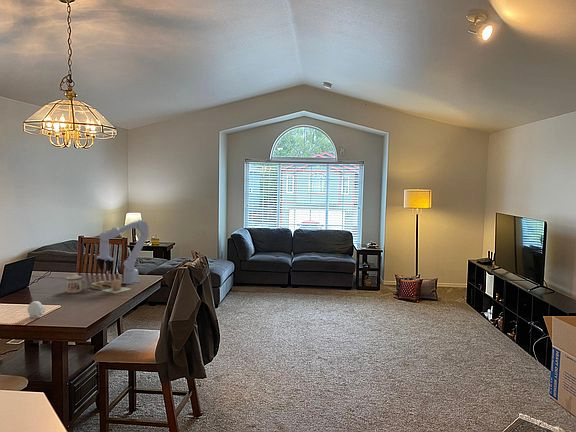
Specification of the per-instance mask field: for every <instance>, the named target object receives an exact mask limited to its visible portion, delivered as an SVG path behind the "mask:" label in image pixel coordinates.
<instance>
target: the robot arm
mask: <svg viewBox="0 0 576 432" xmlns="http://www.w3.org/2000/svg"><path fill="white" fill-rule="evenodd" d="M131 229H136V230H137V229H138V230H139V234H140V235H139V237H138V239H137V242H136V243H135V245H134V247H133V249H132V250H131V252H130V254H129V256H128V257H127V258H126V259H125V260H124V261H123V266H124V268H123V281H121V284H125V285H131V284H136V283H139V282H140V280H139V278H140V275H139V270H138V269H137V268H135V264H136V262H137V258H138V257H139V254H140V253H141V250H143V247H144V245H145V243H146V241H147V240H148V239H149V235H150V232H149V225H148V224H147V222H146V221H144V219H139V220H135V221H132V222H130V223H127V224H126V225H123V226H121V227H112V228H111V229H109V230H105V231H103V232H100V234H99V237H98V238H99V255H96V261H95V262H97V264H98V268H99V271H103V270H104V267H105V266H106V271H107V272H111V270H112V266H113V263H114V261H115V260H114V257H112V256H110V242H109V241H110V240H111V239H115V238H116V237H118V236H120V235H121V233H124V232H126V231H129V230H131ZM104 265H105V266H104Z"/></svg>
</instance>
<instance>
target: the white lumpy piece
mask: <svg viewBox="0 0 576 432" xmlns="http://www.w3.org/2000/svg"><path fill="white" fill-rule="evenodd" d="M45 312H46V307H45V306H44V305H43V304H42V303H41V302H40V301H39V300H35V301H32V302H30V303H29V304H28V307H27V313H28V315H29V319H33V318H34V317H36V318H38V319H39V318H40V319H41V318H42V317H43V316H42V315H43V313H44V314H45Z"/></svg>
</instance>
